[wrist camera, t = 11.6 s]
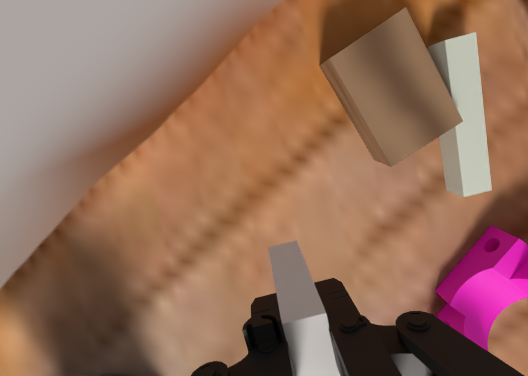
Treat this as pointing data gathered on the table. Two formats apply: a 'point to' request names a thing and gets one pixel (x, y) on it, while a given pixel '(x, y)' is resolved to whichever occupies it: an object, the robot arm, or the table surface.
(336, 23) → the table surface
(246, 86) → the table surface
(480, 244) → the magenta arch bracket
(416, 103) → the walnut block
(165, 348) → the table surface
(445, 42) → the board
